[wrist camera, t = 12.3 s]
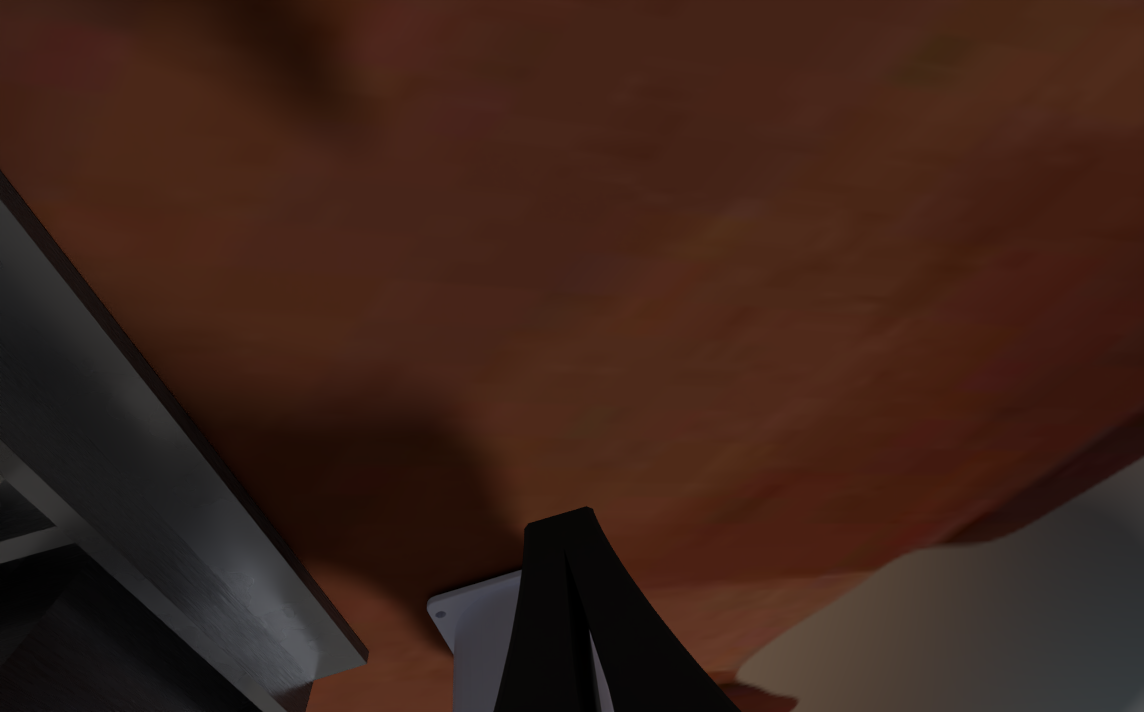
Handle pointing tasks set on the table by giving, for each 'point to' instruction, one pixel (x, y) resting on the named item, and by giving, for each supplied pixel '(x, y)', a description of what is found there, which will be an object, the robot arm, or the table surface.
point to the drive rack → (130, 525)
